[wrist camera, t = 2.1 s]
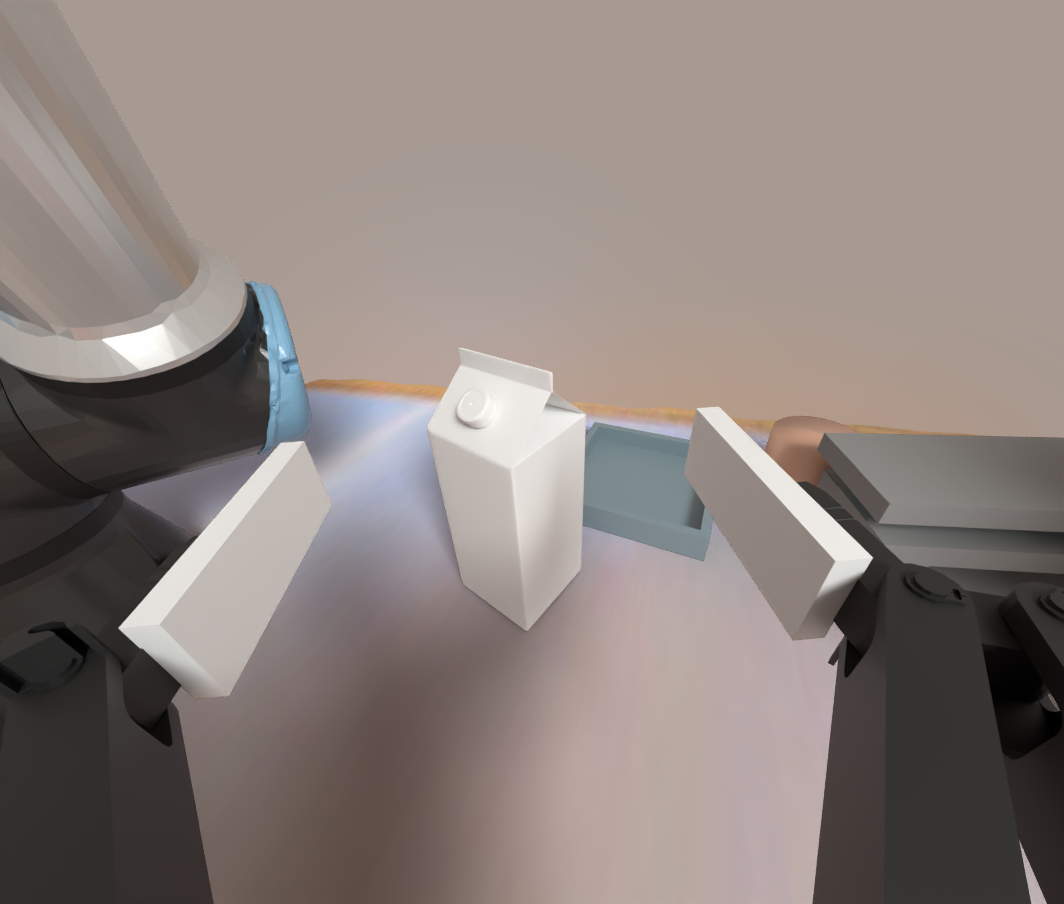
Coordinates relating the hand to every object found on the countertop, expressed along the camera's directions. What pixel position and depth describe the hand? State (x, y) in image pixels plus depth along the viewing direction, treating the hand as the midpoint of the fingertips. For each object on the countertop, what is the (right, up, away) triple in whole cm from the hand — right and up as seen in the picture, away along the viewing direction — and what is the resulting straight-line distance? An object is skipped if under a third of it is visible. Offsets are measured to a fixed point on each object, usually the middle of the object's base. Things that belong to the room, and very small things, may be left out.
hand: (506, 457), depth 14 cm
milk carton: (0, -10, +19) cm, 22 cm away
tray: (+12, -4, +28) cm, 31 cm away
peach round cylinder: (+26, -5, +25) cm, 36 cm away
